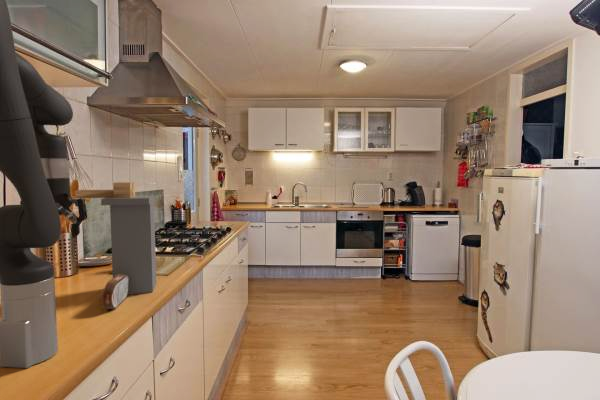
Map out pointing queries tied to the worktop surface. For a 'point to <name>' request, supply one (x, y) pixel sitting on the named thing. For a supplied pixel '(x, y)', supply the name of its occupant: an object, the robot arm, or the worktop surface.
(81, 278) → the worktop surface
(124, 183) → the brown wooden block
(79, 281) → the worktop surface
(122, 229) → the stand
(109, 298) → the tin
